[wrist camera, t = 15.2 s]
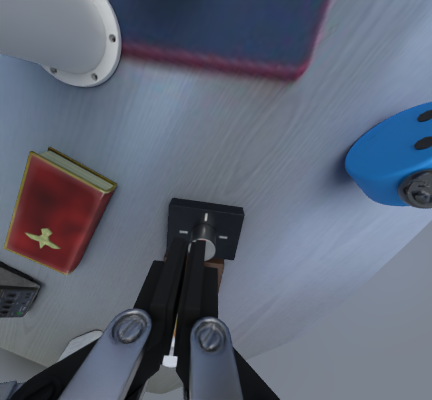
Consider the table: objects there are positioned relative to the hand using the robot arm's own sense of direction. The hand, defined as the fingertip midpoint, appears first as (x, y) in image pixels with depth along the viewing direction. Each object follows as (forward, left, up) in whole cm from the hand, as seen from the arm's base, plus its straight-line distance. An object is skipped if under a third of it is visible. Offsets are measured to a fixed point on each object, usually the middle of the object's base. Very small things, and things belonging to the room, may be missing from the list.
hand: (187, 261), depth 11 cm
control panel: (+1, -13, -25) cm, 28 cm away
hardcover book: (-25, -14, -25) cm, 38 cm away
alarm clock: (+26, +6, -25) cm, 37 cm away
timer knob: (+1, -13, -22) cm, 26 cm away
